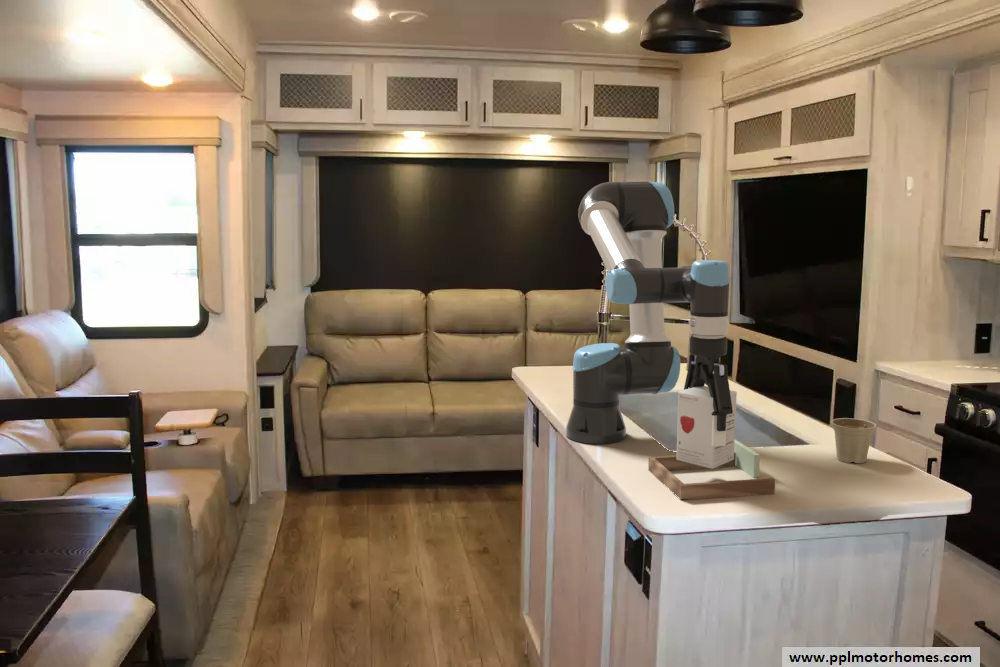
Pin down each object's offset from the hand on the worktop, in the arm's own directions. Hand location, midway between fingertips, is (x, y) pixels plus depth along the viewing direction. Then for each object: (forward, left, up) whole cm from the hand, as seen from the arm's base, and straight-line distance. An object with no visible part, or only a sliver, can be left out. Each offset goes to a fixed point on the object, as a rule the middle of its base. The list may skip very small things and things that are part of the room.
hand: (705, 437), depth 169 cm
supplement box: (0, 0, -5) cm, 5 cm away
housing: (0, +1, -10) cm, 10 cm away
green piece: (-10, +13, -10) cm, 19 cm away
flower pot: (-8, +39, -10) cm, 41 cm away
